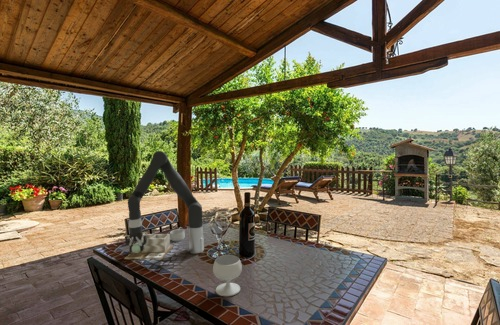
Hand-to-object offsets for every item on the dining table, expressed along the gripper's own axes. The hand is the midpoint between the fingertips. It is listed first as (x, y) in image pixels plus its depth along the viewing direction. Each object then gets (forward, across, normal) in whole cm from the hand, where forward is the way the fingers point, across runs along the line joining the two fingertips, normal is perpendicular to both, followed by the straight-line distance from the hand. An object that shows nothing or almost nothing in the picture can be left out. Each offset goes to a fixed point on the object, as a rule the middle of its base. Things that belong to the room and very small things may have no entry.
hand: (136, 251), depth 161 cm
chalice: (+6, -64, +38) cm, 75 cm away
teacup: (+5, -16, -33) cm, 37 cm away
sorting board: (+5, -6, -6) cm, 10 cm away
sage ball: (+1, 0, 0) cm, 1 cm away
